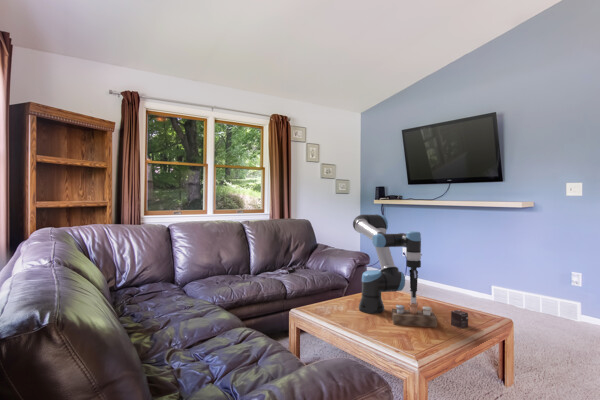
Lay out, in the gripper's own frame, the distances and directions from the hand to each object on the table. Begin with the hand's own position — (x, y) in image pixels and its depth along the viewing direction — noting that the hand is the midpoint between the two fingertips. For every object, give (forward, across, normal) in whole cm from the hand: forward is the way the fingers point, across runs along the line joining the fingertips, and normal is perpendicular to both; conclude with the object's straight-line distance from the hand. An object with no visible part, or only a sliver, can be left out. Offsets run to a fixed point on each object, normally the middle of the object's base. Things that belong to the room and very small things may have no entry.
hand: (413, 302), depth 181 cm
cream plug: (+10, 0, -7) cm, 12 cm away
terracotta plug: (+8, 0, 0) cm, 8 cm away
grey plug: (+10, 0, +7) cm, 12 cm away
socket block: (+11, 0, 0) cm, 11 cm away
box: (+11, 0, -23) cm, 26 cm away
